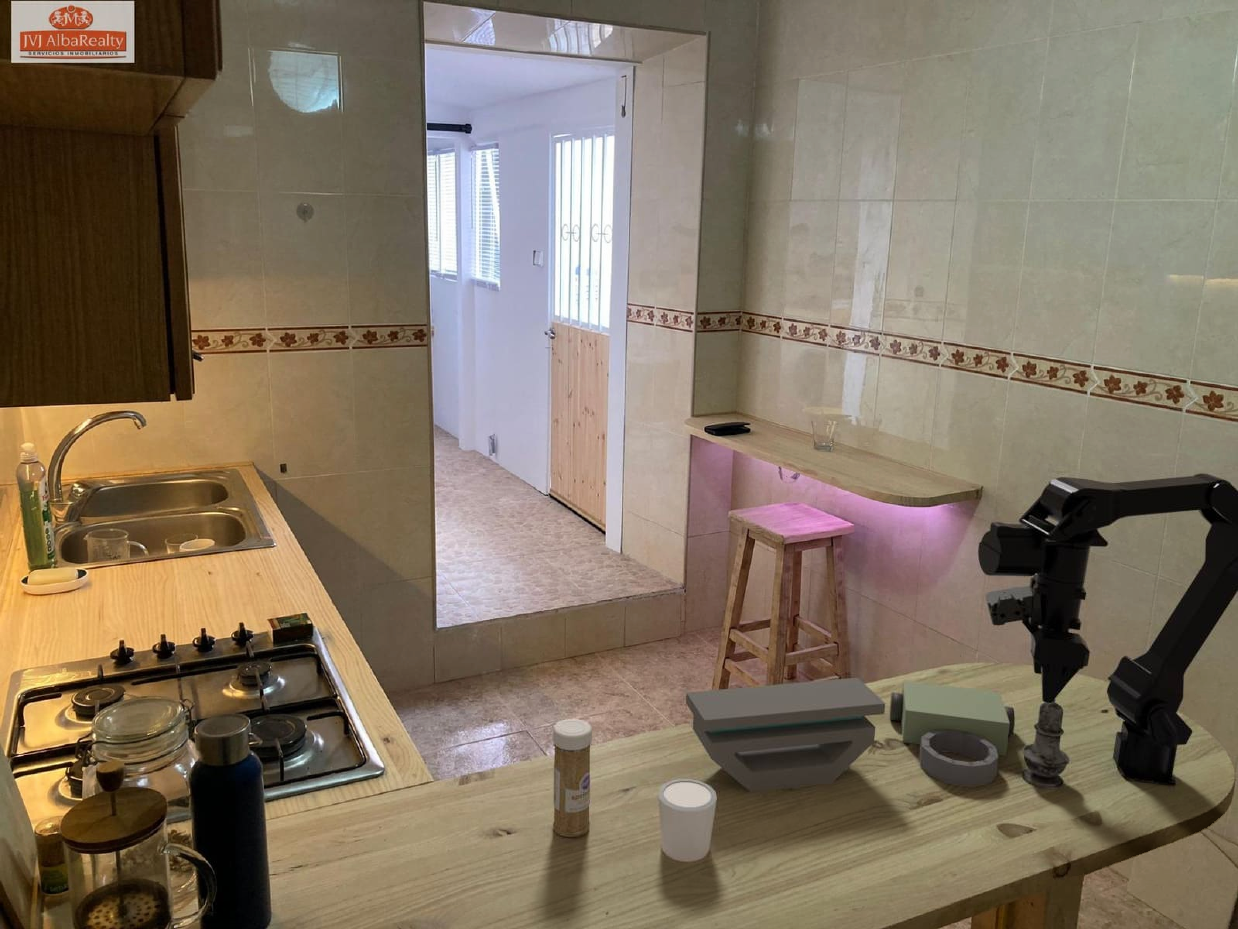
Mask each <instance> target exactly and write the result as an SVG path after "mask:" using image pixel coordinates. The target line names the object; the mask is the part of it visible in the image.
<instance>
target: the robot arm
mask: <svg viewBox="0 0 1238 929" xmlns="http://www.w3.org/2000/svg"><path fill="white" fill-rule="evenodd" d="M1191 511H1198V512H1199V515H1200V516H1201V517H1202V518H1203V519H1204V520H1205V521H1207V523H1208V524H1209V525H1210V527H1209V529H1208V530H1209V531H1208V533H1207V534H1206V536H1205V543H1204V544H1205V549H1204V550H1205V552H1204V553H1205V554H1204V562H1203V564H1202V566H1201V568H1200V569H1199V570H1198V572H1197V573H1196V575H1195V577H1194V578H1193V580H1192V582H1191V583H1190V585H1189V586H1188V588H1187V589H1186V590H1185V592H1184V594H1183V596H1182V597H1181V599H1180V601H1179V602H1178V603H1177V605H1176V606H1175V608H1174V609H1173V612H1172V613H1171V614H1170V616H1169V617H1168V618H1167V621H1166V622H1165V623H1164V625H1163V627H1162V628H1161V630H1160V632H1159V633H1158V635H1157V637H1155V639H1154V641H1153V643H1152V644H1151V645H1150V647H1149V649H1148V650H1147V651H1146V652H1145V653H1144V654H1141V655H1140V656H1138V657H1136V658H1134V659H1132V658H1130V657H1129V656H1128V655H1124V656H1123V657H1122V658H1121V659H1120V660H1119V661H1118V662H1119V663H1118V665H1117V667H1116V669H1115V670H1114V671H1113V672H1112V673H1111V674H1110V675H1109V676H1108V677H1107V680H1109V684H1108V686H1107V689H1106V694H1107V697H1108V701H1109V702H1110V704H1111V705H1112V706H1113V707H1114V710H1115V715H1116V716H1117V717H1118V718H1121V719H1122V720H1123V721H1122V723H1121V729H1120V731H1116V735H1115V741H1114V747H1113V748H1114V749H1113V754H1112V759H1113V761H1114V763H1115V765H1116V766H1117V768H1118V769H1119V771H1120V773H1121V775H1122V777H1123V778H1124V779H1127V780H1132V781H1140V782H1148V783H1155V784H1160V785H1161V784H1163V785H1168V786H1176V785H1177V779H1176V778H1175V776H1174V775H1173V774H1174V768H1175V761H1176V757H1177V750H1178V746H1185V745H1187V744H1188V741H1189V740H1190V738H1191V736H1192V734H1193V730H1192V728H1191V727H1190V726H1189V725H1188V724H1187V723H1186V722H1185V721H1184V720H1183V718H1182V717H1180V715H1179V714H1178V712H1179V711H1178V710H1179V709H1180V706H1181V704H1182V702H1183V700H1184V688H1185V687H1184V686H1185V685H1184V684H1185V682H1184V680H1185V673H1186V672H1187V670H1188V668H1189V667H1190V666H1191V664H1192V662H1193V660H1194V659H1195V657H1196V656H1197V655H1198V653H1199V652H1200V651H1201V648H1202V647H1203V645H1204V643H1205V642H1206V641H1207V639H1208V638H1209V636H1210V635H1211V633H1212V631H1213V630H1214V628H1215V627H1216V626H1217V623H1218V622H1219V620H1220V619H1221V618H1222V616H1223V615H1224V613H1225V611H1226V610H1227V608H1228V607H1229V605H1230V604H1231V603H1232V600H1234V597H1236V595H1237V593H1238V489H1237V488H1236V487H1235V486H1234V485H1232V483H1231V482H1230V481H1228V480H1227V479H1223V478H1220V477H1217V476H1215V475H1211V474H1209V473H1197V474H1193V475H1189V476H1178V477H1168V478H1167V477H1166V478H1157V479H1156V478H1155V479H1145V480H1136V481H1135V480H1134V481H1124V482H1107V481H1106V482H1104V481H1098V480H1093V479H1087V478H1079V477H1078V478H1077V477H1067V476H1059V477H1056V478H1053V479H1051V480H1050V481H1049V483H1048V484H1047V485H1046V486H1045V487H1044V489H1043V491H1042V493H1041V495H1040V496H1039V497H1038V499H1036V500H1035V501H1034V503H1032V505H1031V506H1030V507H1028V509H1027V510H1026V512H1025V513H1023V515H1022V516H1021V517H1020V518H1019V519H1018V522H1019V524H1018V523H1006V522H1005V523H1004V522H1002V521H1000V522H999V521H993V522H991V523H990V527H989V530H988V531H986V532H985V533H984V534H983V536H982V538H981V540H980V542H979V543H978V552H977V554H978V555H977V556H978V563H979V567H980V569H981V570H982V572H983V573H984V574H985V575H986V576H989V577H990V576H994V577H995V576H997V577H1004V576H1005V577H1030V579H1029V580H1030V581H1029V585H1027V586H1021V587H1019V586H1017V587H1010V588H1003V589H999V590H993V591H989V592H987V593H985V599H986V603H987V609H988V612H989V616H990V619H991V624H992V625H993V626H1004V625H1005V624H1007V623H1013V622H1020V621H1021V623H1022V624H1023V625H1024V627H1025V628H1026V629H1027V631H1028V632H1029V633H1030V636H1031V637H1030V638H1031V640H1030V642H1031V643H1030V652H1031V657H1032V661H1033V662H1032V663H1033V672H1034V674H1037V675H1041V678H1040V679H1041V696H1042V702H1043V703H1045V702H1047V703H1052V702H1053V701H1054V699H1055V700H1056V699H1057V697H1058V696H1059V695H1060V693H1061V692H1062V691H1063V689H1064V688H1066V686H1067V685H1068V683H1069V682H1070V681H1071V680H1072V679H1073V677H1074V676H1076V674H1077V673H1078V672H1079V671H1080V670H1083V669H1084V667H1085V668H1086V667H1088V666H1089V665H1088V664H1089V660H1090V654H1091V651H1090V649H1089V646H1088V645H1087V642H1086V640H1084V638H1083V637H1082V636H1081V635H1080V633H1075V632H1069V631H1070V630H1074V631H1080V630H1081V627H1082V622H1081V620H1080V610H1081V606H1082V605H1081V604H1082V601H1086V598H1087V597H1086V596H1087V591H1086V590H1085V580H1086V574H1087V569H1088V562H1089V559H1090V558H1089V557H1090V551H1091V547H1100V548H1103V547H1107V546H1109V541H1107V540H1106V539H1105V538H1104V537H1103V535H1101V533H1100V532H1099V530H1098V529H1102V528H1106V527H1109V526H1111V525H1112V524H1114V523H1115V522H1117V521H1119V520H1120V519H1124V518H1128V517H1139V516H1140V517H1141V516H1147V515H1159V514H1171V513H1180V512H1191ZM1048 518H1049V519H1051V520H1053V521H1055V522H1057V524H1054V523H1052V522H1050V521H1048V520H1047V519H1048ZM1054 702H1055V701H1054Z"/></svg>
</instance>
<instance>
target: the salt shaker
mask: <svg viewBox="0 0 1238 929" xmlns="http://www.w3.org/2000/svg"><path fill="white" fill-rule="evenodd" d="M1038 712H1039V713H1038V717H1037V718H1038V719H1037V722H1036V723H1035V724H1034V725H1033V726H1034V727H1033V728H1034V729H1035V737H1034V740H1033V743H1030V744H1029V743H1028V744H1026V745H1024V746H1022V748H1021V754H1022V755H1023V760H1024V763H1025V765H1026V768H1024V769H1023V770H1021V773H1020V775H1021V777H1022V779H1023V781H1025V782H1026V783H1028V784H1029V785H1031V786H1034V787H1036V788H1039V789H1043V790H1059V789H1061V788H1063V787H1064V784H1065V782H1064V779H1063V777H1061V776H1060V775H1061V774H1062V773H1064V770H1065V769H1066V768H1067V765H1069V764H1070V757H1069V756H1068V754H1066V752H1064V751H1063V750H1061V748H1060V747H1061V746H1060V743H1061V736H1063V735H1064V734H1065V730H1064V729H1063V728H1062V724H1063V718H1064V709H1063V707H1062V706H1061V705H1060V704H1059V703H1057V702H1056V698H1055V699H1054V701H1053V702H1052V703H1047V702H1043V703H1042V704H1040V706H1039V711H1038Z"/></svg>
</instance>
